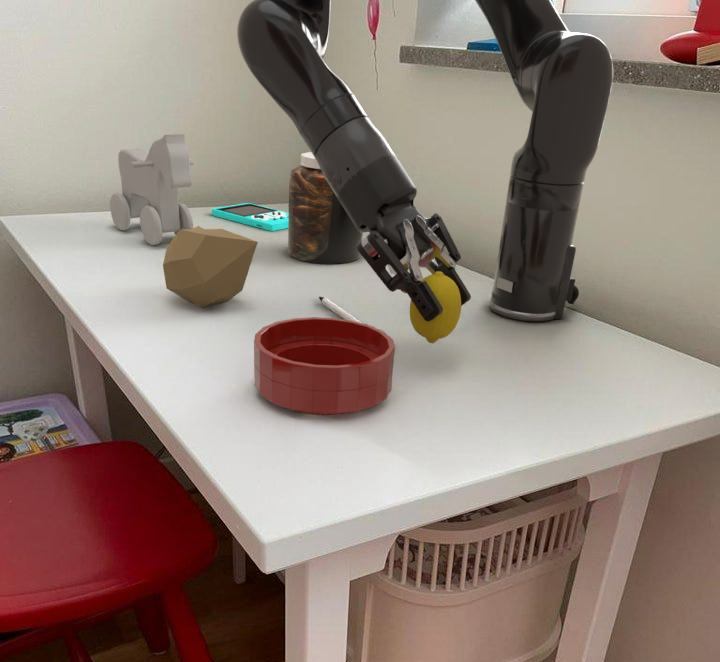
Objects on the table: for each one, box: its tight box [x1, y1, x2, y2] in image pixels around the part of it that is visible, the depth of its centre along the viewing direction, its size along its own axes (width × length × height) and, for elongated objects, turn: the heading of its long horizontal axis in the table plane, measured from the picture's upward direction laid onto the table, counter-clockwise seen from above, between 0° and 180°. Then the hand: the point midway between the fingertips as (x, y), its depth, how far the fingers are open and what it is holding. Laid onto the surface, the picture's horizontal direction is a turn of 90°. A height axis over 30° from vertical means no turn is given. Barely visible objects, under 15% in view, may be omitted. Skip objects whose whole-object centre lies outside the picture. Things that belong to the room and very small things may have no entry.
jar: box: [287, 151, 364, 264], centre depth 121 cm, size 12×12×15 cm
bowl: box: [253, 316, 396, 416], centre depth 78 cm, size 14×14×6 cm
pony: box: [109, 133, 195, 247], centre depth 124 cm, size 20×10×17 cm, turn 40°
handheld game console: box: [211, 202, 289, 232], centre depth 144 cm, size 10×16×1 cm, turn 51°
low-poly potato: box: [162, 225, 259, 308], centre depth 100 cm, size 15×11×12 cm
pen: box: [318, 296, 368, 325], centre depth 97 cm, size 1×19×1 cm, turn 27°
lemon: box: [409, 271, 462, 344], centre depth 83 cm, size 6×6×8 cm
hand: (449, 309), depth 82 cm, fingers closed on lemon, 5 cm apart
